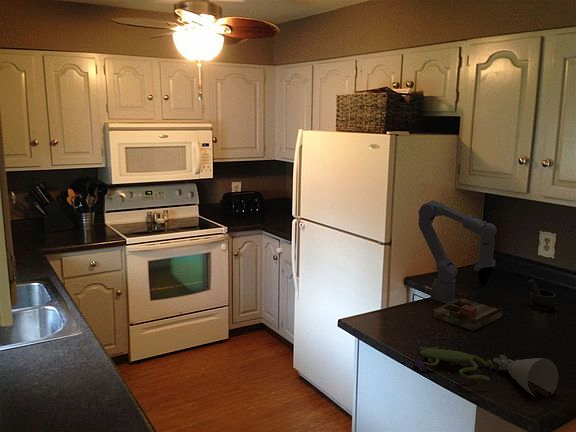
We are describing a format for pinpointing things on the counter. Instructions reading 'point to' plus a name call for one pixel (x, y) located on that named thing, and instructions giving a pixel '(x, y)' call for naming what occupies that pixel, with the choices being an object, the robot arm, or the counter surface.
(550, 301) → the mortar and pestle
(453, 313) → the trap board
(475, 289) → the counter surface
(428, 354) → the figurine
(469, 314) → the block
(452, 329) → the counter surface
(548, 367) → the rocket engine
